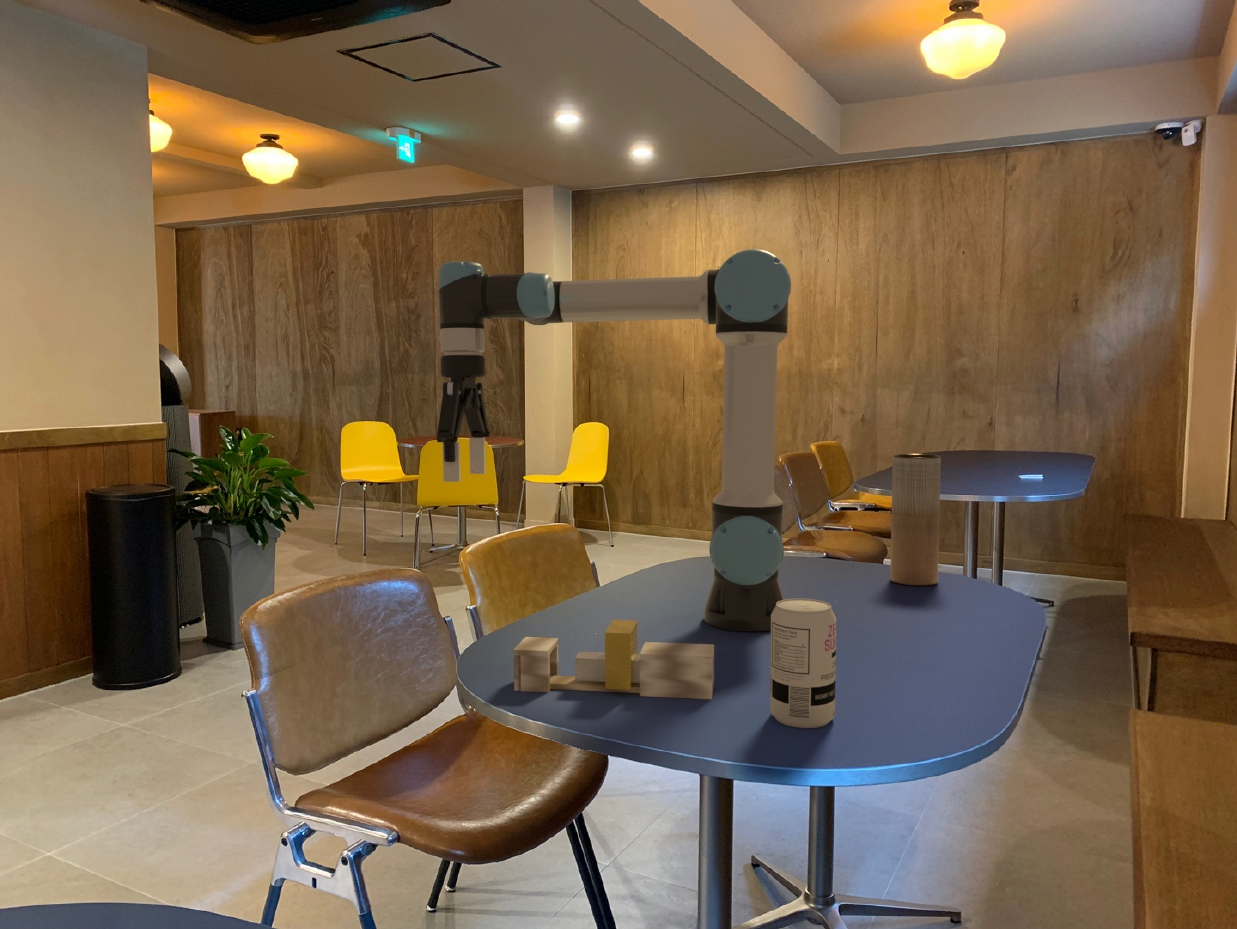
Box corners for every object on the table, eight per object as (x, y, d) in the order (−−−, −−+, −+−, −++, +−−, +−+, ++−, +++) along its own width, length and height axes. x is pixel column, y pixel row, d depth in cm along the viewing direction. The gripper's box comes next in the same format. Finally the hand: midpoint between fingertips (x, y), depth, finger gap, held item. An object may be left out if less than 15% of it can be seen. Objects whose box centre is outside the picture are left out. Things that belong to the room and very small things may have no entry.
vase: (944, 586, 194) (947, 457, 191) (897, 586, 194) (900, 457, 192) (929, 576, 204) (931, 453, 201) (884, 576, 204) (887, 453, 201)
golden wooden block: (714, 677, 131) (714, 623, 130) (711, 693, 124) (711, 636, 123) (582, 671, 134) (581, 618, 133) (572, 687, 127) (571, 631, 126)
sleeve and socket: (714, 684, 131) (714, 644, 130) (711, 700, 124) (711, 657, 124) (526, 676, 135) (525, 636, 135) (514, 690, 129) (513, 649, 128)
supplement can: (763, 708, 121) (764, 598, 120) (823, 706, 122) (825, 596, 121) (779, 731, 113) (780, 613, 112) (843, 728, 114) (845, 611, 113)
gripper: (465, 357, 168) (468, 470, 170) (414, 352, 144) (417, 484, 146) (504, 356, 167) (506, 470, 169) (459, 351, 142) (462, 485, 144)
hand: (465, 477), depth 157 cm, fingers open, 13 cm apart
